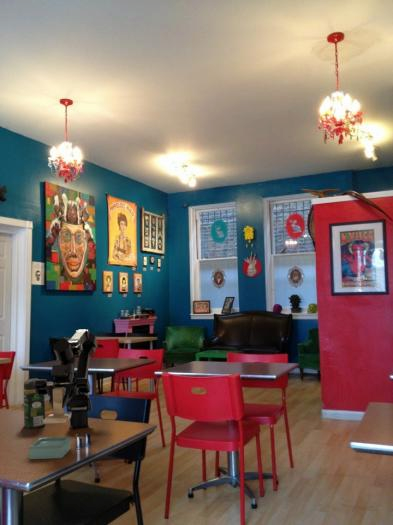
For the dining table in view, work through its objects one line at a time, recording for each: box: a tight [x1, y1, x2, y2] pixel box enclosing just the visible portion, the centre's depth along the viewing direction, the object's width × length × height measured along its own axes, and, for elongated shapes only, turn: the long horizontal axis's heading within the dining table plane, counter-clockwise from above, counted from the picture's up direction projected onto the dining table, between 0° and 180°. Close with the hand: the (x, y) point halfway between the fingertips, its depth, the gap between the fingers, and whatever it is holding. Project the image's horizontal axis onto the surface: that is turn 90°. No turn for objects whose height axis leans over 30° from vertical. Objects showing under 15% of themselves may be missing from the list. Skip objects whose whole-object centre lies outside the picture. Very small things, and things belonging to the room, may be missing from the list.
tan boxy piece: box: [43, 387, 71, 425], centre depth 163 cm, size 7×7×10 cm
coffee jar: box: [23, 378, 46, 429], centre depth 196 cm, size 10×8×19 cm
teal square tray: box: [29, 436, 72, 460], centre depth 154 cm, size 10×10×4 cm
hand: (57, 407), depth 163 cm, fingers closed on tan boxy piece, 3 cm apart
